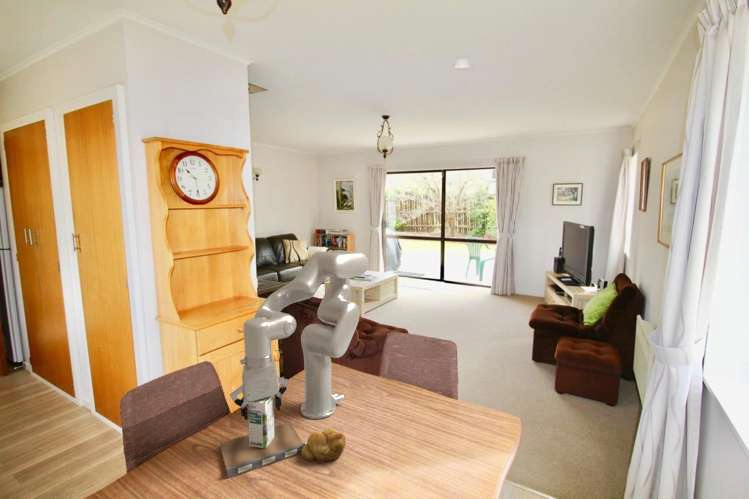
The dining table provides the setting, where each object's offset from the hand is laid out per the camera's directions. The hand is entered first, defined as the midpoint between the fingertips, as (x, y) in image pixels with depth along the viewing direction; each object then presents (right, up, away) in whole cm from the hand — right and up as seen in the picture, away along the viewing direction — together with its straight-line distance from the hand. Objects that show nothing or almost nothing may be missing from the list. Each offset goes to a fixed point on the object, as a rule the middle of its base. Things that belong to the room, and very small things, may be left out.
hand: (261, 412), depth 114 cm
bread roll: (+19, -12, -2) cm, 22 cm away
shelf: (0, -11, 0) cm, 11 cm away
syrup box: (0, -10, +1) cm, 10 cm away
